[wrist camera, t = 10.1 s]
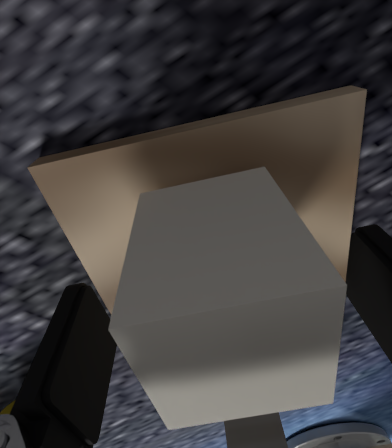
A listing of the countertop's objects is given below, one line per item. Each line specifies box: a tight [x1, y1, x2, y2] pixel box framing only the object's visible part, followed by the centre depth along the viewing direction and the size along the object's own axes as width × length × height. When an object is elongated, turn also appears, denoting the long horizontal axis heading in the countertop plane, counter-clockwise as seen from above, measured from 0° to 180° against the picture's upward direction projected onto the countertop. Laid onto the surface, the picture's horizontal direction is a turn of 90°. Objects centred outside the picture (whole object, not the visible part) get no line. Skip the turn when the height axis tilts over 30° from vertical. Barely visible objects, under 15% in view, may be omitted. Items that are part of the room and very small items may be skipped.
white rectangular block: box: [108, 167, 347, 430], centre depth 10 cm, size 5×5×7 cm
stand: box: [28, 85, 367, 448], centre depth 14 cm, size 18×14×8 cm
